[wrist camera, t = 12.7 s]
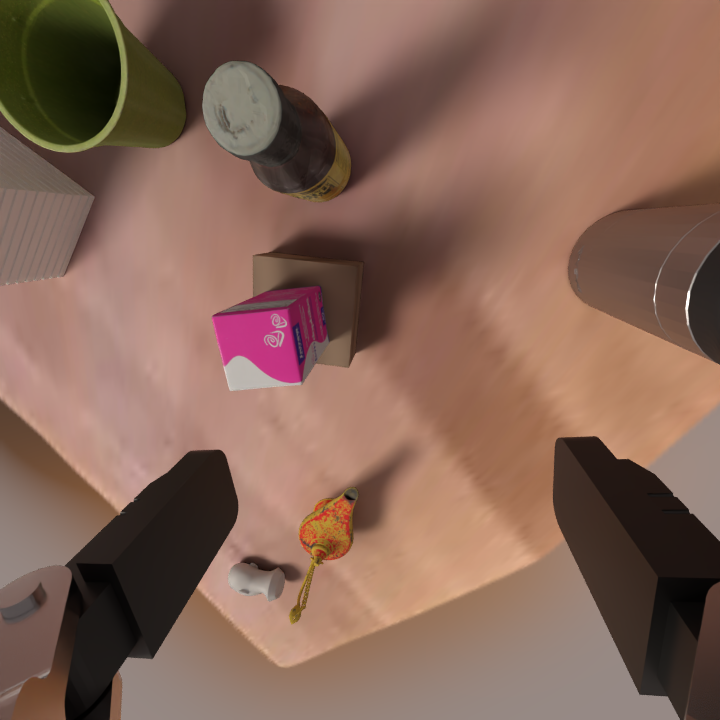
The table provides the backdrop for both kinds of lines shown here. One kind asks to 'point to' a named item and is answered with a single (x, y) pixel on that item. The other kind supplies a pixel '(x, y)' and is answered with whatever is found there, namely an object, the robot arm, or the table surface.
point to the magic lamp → (326, 536)
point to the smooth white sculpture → (256, 581)
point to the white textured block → (36, 214)
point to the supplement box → (272, 338)
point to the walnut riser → (337, 294)
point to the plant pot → (83, 78)
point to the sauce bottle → (275, 132)
